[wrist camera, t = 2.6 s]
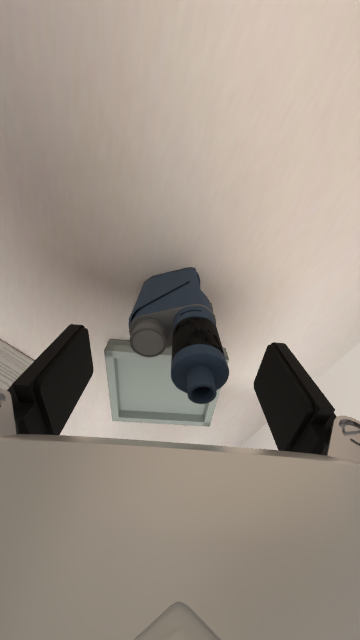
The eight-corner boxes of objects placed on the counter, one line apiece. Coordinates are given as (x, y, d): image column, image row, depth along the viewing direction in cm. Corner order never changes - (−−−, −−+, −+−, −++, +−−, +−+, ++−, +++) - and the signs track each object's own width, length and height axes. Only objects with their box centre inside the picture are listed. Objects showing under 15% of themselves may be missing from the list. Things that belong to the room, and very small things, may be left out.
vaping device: (205, 291, 18) (240, 411, 8) (149, 303, 19) (112, 430, 8) (200, 263, 17) (233, 362, 7) (140, 277, 17) (83, 388, 7)
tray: (109, 339, 21) (104, 350, 19) (225, 348, 21) (228, 359, 20) (116, 407, 26) (112, 420, 25) (207, 413, 27) (209, 426, 25)
